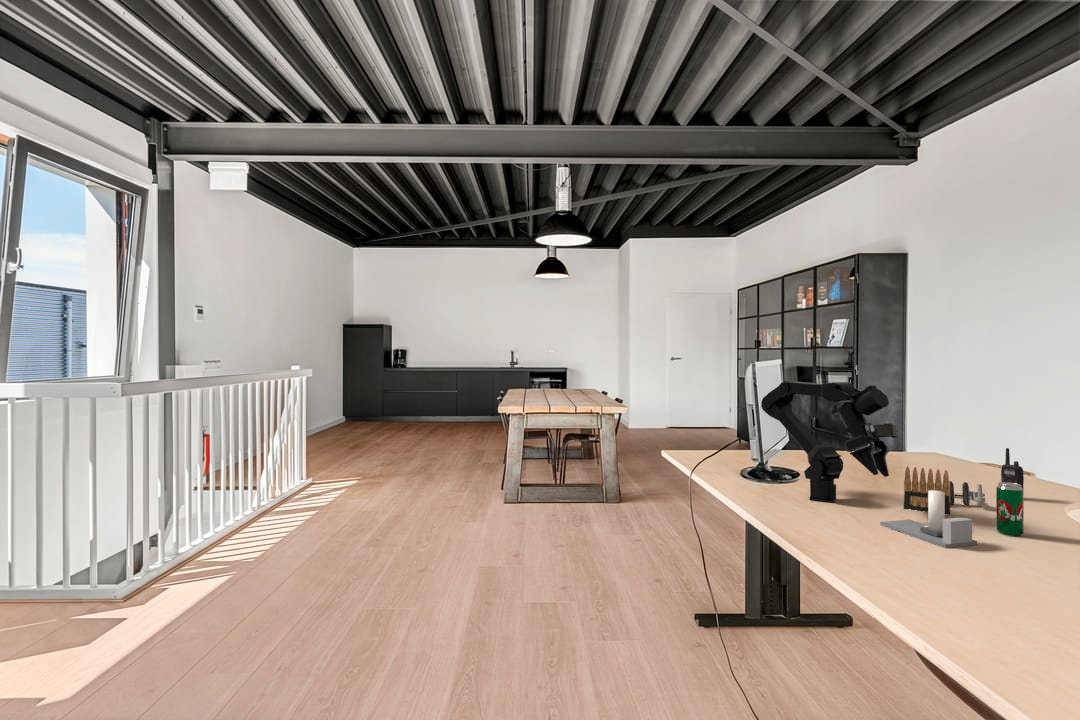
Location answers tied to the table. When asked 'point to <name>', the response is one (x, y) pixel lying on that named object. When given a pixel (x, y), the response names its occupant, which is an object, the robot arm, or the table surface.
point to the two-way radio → (1012, 471)
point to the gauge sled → (935, 513)
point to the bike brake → (967, 494)
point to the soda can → (1010, 509)
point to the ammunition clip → (924, 489)
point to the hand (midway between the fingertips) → (881, 475)
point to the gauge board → (953, 536)
